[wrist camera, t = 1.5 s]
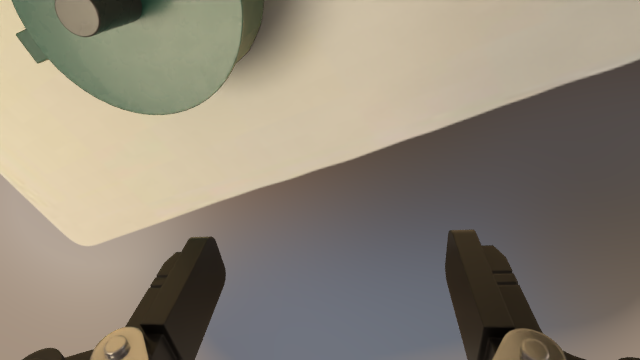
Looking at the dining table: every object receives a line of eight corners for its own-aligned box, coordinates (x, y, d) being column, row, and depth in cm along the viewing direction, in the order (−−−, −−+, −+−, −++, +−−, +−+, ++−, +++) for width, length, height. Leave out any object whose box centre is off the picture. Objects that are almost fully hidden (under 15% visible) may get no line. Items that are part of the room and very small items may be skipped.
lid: (-43, -85, 24) (-152, -93, 19) (164, -215, 20) (96, -271, 15) (112, 133, 32) (65, 168, 27) (283, 73, 28) (266, 101, 23)
